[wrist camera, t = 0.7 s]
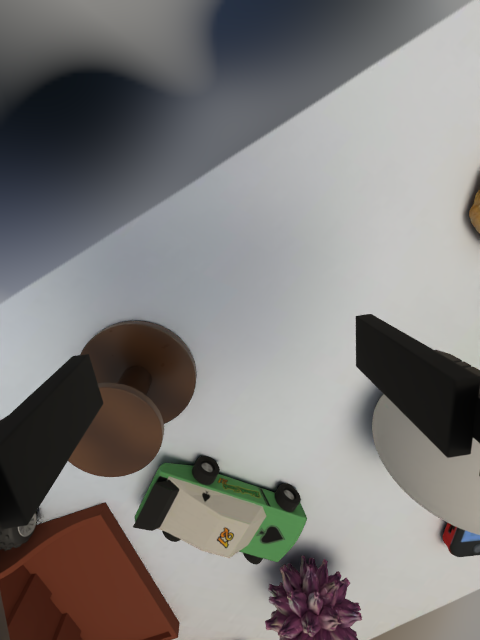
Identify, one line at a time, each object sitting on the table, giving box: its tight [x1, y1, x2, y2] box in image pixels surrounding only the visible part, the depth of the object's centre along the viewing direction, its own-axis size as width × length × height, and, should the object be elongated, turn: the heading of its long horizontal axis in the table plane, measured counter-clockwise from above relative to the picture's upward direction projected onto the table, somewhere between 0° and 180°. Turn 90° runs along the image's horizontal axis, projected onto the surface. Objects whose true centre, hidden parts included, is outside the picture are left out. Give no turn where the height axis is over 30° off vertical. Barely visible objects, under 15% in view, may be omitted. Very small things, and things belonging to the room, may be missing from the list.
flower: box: [265, 556, 362, 640], centre depth 38 cm, size 12×12×12 cm
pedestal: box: [68, 321, 196, 477], centre depth 28 cm, size 12×12×10 cm
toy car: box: [133, 456, 307, 564], centre depth 36 cm, size 10×19×5 cm, turn 64°
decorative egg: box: [372, 394, 480, 535], centre depth 30 cm, size 12×12×15 cm
